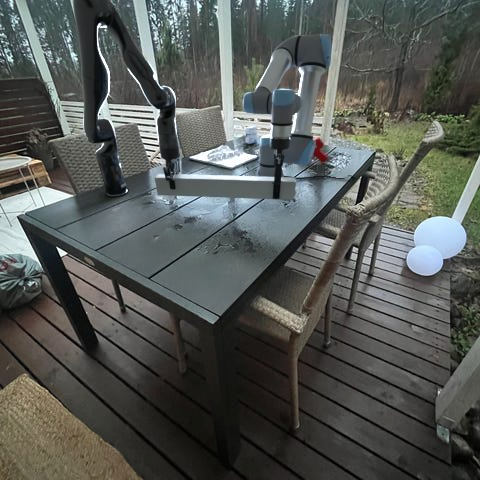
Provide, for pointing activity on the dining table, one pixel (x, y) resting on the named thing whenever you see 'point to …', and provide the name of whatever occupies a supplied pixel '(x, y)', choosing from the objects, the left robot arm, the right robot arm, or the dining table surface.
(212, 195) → the beam
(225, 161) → the relief map
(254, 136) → the ink box
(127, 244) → the dining table surface
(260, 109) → the right robot arm
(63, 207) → the dining table surface
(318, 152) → the toy gun
